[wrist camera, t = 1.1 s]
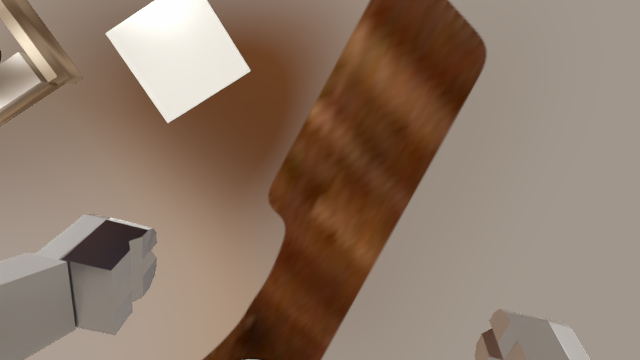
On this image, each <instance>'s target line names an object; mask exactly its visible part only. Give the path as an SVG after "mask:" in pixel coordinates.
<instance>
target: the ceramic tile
mask: <svg viewBox="0 0 640 360" xmlns="http://www.w3.org/2000/svg"><path fill="white" fill-rule="evenodd" d="M106 35H107V36H108V38H109V39H110V41H111V42H112V44H113V45H114V46H115V48H116V49H117V51H118V52H119V53H120V55H121V56H122V58H123V59H124V61H125V62H126V64H127V65H128V67H129V68H130V70H131V71H132V72H133V74H134V75H135V77H136V78H137V80H138V81H139V83H140V84H141V85H142V87H143V88H144V90H145V91H146V93H147V94H148V96H149V97H150V98H151V100H152V101H153V103H154V104H155V106H156V107H157V108H158V110H159V111H160V113H161V114H162V116H163V117H164V119H165V120H166V121H167V123H170V122H172V121H173V120H175V119H177V118H178V117H180V116H181V115H183V114H184V113H186V112H187V111H189V110H191V109H192V108H194V107H195V106H197V105H199V104H200V103H202V102H203V101H205V100H206V99H208V98H210V97H211V96H213V95H215V94H216V93H218V92H219V91H221V90H222V89H224V88H226V87H227V86H229V85H230V84H232V83H234V82H235V81H237V80H238V79H240V78H241V77H243V76H244V75H246V74H248V73H249V72H251V70H250V68H249V66H248V65H247V63H246V61H245V60H244V58H243V57H242V55H241V53H240V52H239V50H238V49H237V47H236V45H235V44H234V42H233V40H232V39H231V37H230V36H229V34H228V32H227V31H226V29H225V28H224V26H223V24H222V23H221V21H220V19H219V18H218V16H217V15H216V13H215V11H214V10H213V8H212V6H211V5H210V3H209V2H208V0H155V1H153V2H152V3H150V4H149V5H148V6H146V7H145V8H143V9H141V10H140V11H138V12H137V13H135V14H134V15H132V16H131V17H129V18H128V19H126V20H125V21H123V22H122V23H120V24H119V25H117V26H116V27H114V28H113V29H111V30H110V31H108V32H107V33H106Z"/></svg>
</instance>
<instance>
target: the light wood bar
mask: <svg viewBox="0 0 640 360" xmlns="http://www.w3.org/2000/svg"><path fill="white" fill-rule="evenodd" d="M64 84H65V83H53V82H48V81H47V80H46V79H45V77H44V76H43V75H42V73H41V72H40V71H39V69H38V68H37V67H36V65H35V64H34V63H33V61H32V60H31V59H30V57H29V56H28V55H27V53H23V52H17V53H16V54H14V55H13V56H11V57H10V58H8V59H7V60H5V61H4V62H2V63H1V64H0V126H1V125H3V124H4V123H6V122H7V121H9V120H10V119H12V118H13V117H15V116H17V115H18V114H20V113H21V112H23V111H24V110H26V109H27V108H28V107H30V106H32V105H33V104H35V103H36V102H38V101H39V100H41V99H42V98H44V97H45V96H47V95H48V94H50V93H51V92H53V91H54V90H56V89H58V88H59V87H61V86H62V85H64Z"/></svg>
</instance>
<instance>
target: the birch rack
mask: <svg viewBox="0 0 640 360" xmlns="http://www.w3.org/2000/svg"><path fill="white" fill-rule="evenodd" d="M0 19H1V20H2V21H3V23H4V24H5V25H6V27H7V28H8V29H9V31H10V32H11V33H12V35H13V36H14V37H15V39H16V40H17V41H18V42H19V44H20V45H21V47H22V48H23V49H24V50H25V52H26V53H27V55H28V56H29V57H30V59H31V60H32V61H33V63H34V64H35V65H36V67H37V68H38V69H39V71H40V72H41V73H42V75H43V76H44V77H45V79H46V80H47V81H48V82H53V83H77V82H78V81H80V80H81V79H83V76H82V75H81V74H80V72H79V71H78V70H77V68H76V67H75V65H74V64H73V63H72V61H71V60H70V59H69V57H68V56H67V55H66V53H65V52H64V50H63V49H62V48H61V46H60V45H59V43H58V42H57V41H56V39H55V38H54V37H53V35H52V34H51V32H50V31H49V30H48V28H47V27H46V26H45V24H44V23H43V21H42V20H41V19H40V17H39V16H38V15H37V13H36V12H35V10H34V9H33V8H32V6H31V5H30V4H29V2H28V1H27V0H0Z"/></svg>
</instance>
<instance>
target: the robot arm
mask: <svg viewBox="0 0 640 360" xmlns="http://www.w3.org/2000/svg"><path fill="white" fill-rule="evenodd" d="M156 240H157V239H156V231H155V230H154V229H153V228H150V227H146V226H142V225H139V224H135V223H131V222H127V221H123V220H119V219H115V218H109V217H106V216H102V215H98V214H94V213H89V214H85V215H83V216H82V217H81V218H80V219H78V220H77V221H76V222H75V223H73V224H72V225H71V226H69V227H68V228H67V229H66V230H65V231H63V232H62V233H61V234H60V235H58V236H57V237H56V238H54V239H53V240H52V241H51V242H50V243H48V244H47V245H46V246H44V247H43V248H42V249H41V250H39V251H38V252H37V253H36V254H32V253H25V254H21V255H18V256H15V257H12V258H9V259H6V260H2V261H0V360H24V359H26V358H28V357H29V356H31V355H33V354H34V353H36V352H38V351H40V350H41V349H43V348H45V347H46V346H48V345H50V344H52V343H53V342H55V341H57V340H59V339H60V338H62V337H64V336H65V335H67V334H68V333H70V332H72V331H74V330H75V329H76V327H77V328H82V329H88V330H92V331H98V332H102V333H107V334H112V335H116V333H117V332H118V331H119V329H120V328H121V327H122V325H123V324H124V322H125V321H126V319H127V318H128V317H129V316H130V314H131V313H132V302H134V301H136V300H138V299H140V298H142V297H143V296H144V295H145V293H146V292H147V290H148V289H149V287H150V285H151V282H152V280H153V278H154V275H155V270H156V259H157V258H156V257H155V255H154V254H153V252H152V251H151V249H152V248H153V247H154V246H155V244H156V243H157V241H156ZM489 321H490V324H491V327H492V329H490V330H488V331H486V332H484V333H482V334H481V336H480V338H479V340H478V342H477V344H476V350H475V360H590V358H589V356H588V355H587V353H586V352H585V350H584V348H583V347H582V345H581V343H580V342H579V340H578V339H577V337H576V335H575V334H574V332H573V331H572V329H571V328H570V327H569V326H568V325H567V324H566V323H564V322H559V321H555V320H550V319H545V318H538V317H534V316H529V315H525V314H520V313H516V312H511V311H507V310H502V309H498V310H497V311H495V312H494V313H493V315H492V317H491V319H490V320H489ZM247 360H257V359H247Z"/></svg>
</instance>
